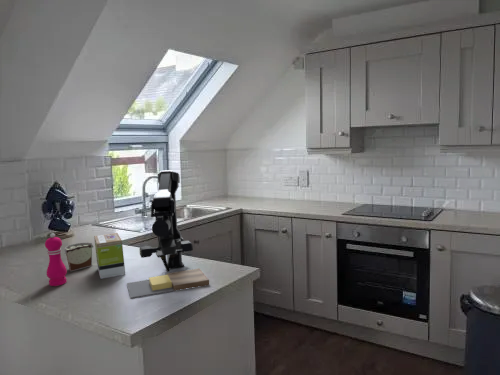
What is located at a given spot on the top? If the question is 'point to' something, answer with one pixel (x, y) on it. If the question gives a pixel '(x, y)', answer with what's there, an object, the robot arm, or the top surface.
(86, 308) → the top surface
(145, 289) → the mat
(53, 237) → the pepper mill
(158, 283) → the butter block
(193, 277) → the cutting block
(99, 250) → the tea box
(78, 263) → the food container
